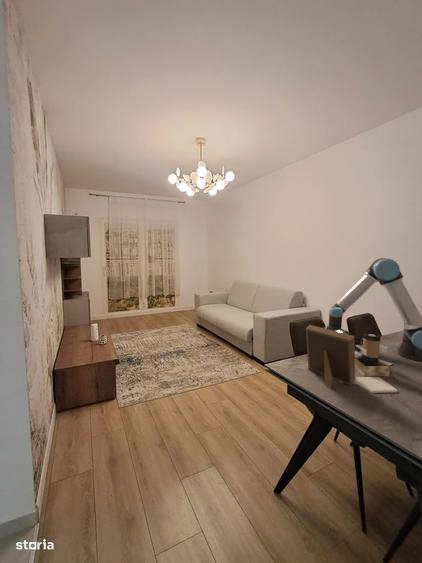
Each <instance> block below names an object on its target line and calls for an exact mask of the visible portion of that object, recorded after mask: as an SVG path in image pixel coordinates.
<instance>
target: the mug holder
mask: <svg viewBox="0 0 422 563" xmlns="http://www.w3.org/2000/svg"><path fill="white" fill-rule="evenodd" d="M361 360H362V355H360V356H359V355H358V356H357V355H355V371H357V372H359V373H360V374H361V375H363V377H390V373H391V366H389V365H388V364H386V363H384V362H383V361H382V360H380V359H378V365H377V366H365V365H364V364H362V363H361Z"/></svg>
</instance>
